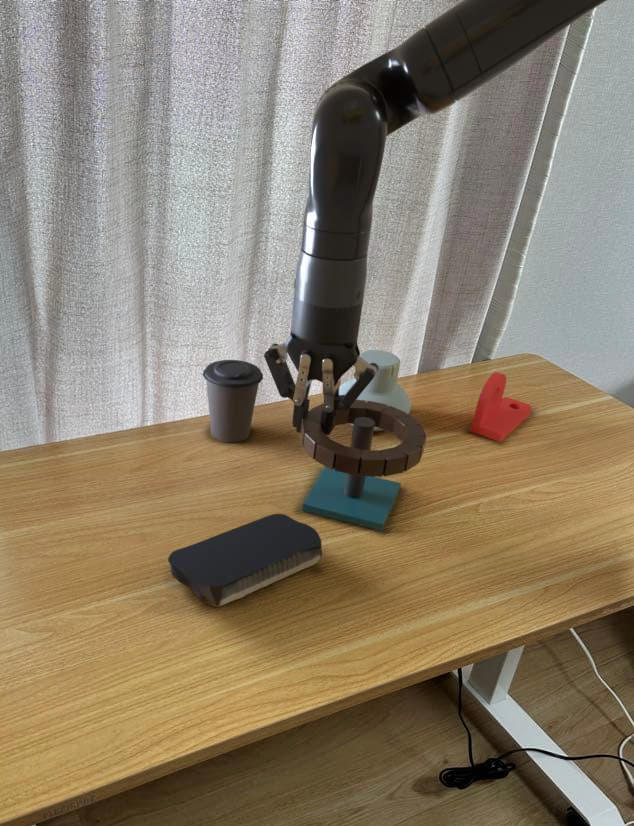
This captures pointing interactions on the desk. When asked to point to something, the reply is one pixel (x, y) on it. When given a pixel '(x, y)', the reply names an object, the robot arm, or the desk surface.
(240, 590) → the black board eraser
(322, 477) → the post stand
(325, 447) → the ring
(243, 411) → the coffee cup
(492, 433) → the bracket
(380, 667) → the desk surface
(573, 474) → the desk surface
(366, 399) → the air freshener
